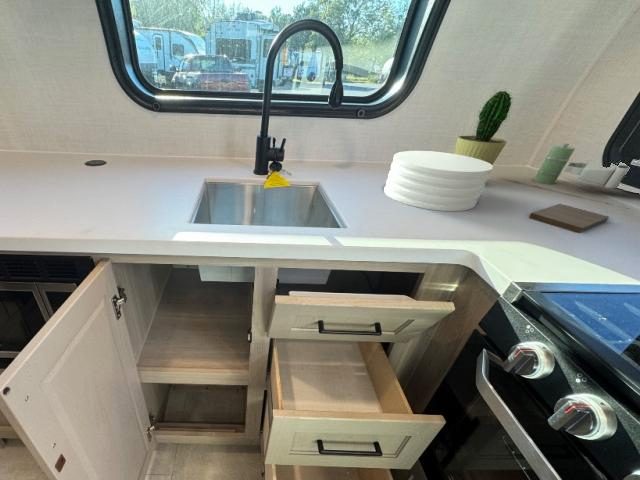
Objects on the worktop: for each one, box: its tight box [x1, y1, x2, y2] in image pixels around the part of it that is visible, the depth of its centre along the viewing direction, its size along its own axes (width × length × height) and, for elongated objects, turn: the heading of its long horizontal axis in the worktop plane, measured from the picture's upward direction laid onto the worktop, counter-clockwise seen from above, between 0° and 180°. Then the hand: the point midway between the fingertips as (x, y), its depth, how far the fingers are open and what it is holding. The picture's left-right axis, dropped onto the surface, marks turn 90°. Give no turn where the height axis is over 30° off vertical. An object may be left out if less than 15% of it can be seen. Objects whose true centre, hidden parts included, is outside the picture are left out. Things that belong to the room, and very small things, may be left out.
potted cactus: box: [453, 90, 514, 166], centre depth 114 cm, size 15×15×30 cm
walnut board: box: [528, 203, 610, 234], centre depth 91 cm, size 18×12×2 cm, turn 119°
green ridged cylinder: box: [533, 142, 576, 185], centre depth 118 cm, size 7×7×14 cm
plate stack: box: [383, 150, 494, 212], centre depth 103 cm, size 28×28×12 cm
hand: (567, 166), depth 116 cm, fingers open, 8 cm apart
